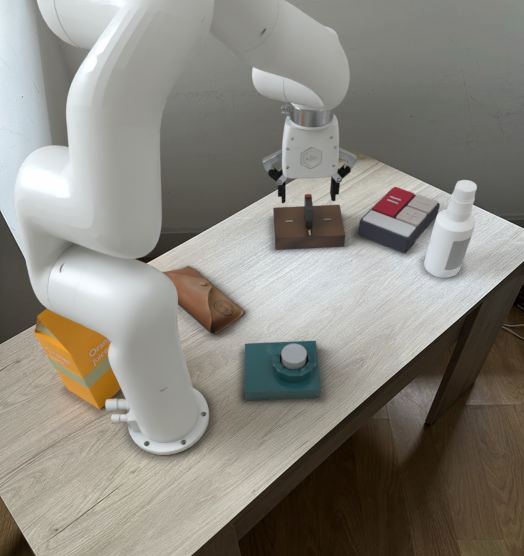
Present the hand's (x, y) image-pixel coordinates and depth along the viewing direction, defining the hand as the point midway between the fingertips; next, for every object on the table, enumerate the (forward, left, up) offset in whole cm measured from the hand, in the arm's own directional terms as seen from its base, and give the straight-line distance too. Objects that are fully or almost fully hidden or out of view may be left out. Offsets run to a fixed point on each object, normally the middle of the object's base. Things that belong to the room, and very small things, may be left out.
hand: (307, 198), depth 101 cm
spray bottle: (+25, -12, -9) cm, 29 cm away
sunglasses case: (-22, -18, -9) cm, 29 cm away
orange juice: (-37, -36, -9) cm, 52 cm away
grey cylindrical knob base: (-7, -36, -9) cm, 37 cm away
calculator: (+19, +2, -9) cm, 21 cm away
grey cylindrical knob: (-5, -36, -5) cm, 36 cm away
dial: (0, 0, -6) cm, 6 cm away
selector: (0, 0, -9) cm, 9 cm away
